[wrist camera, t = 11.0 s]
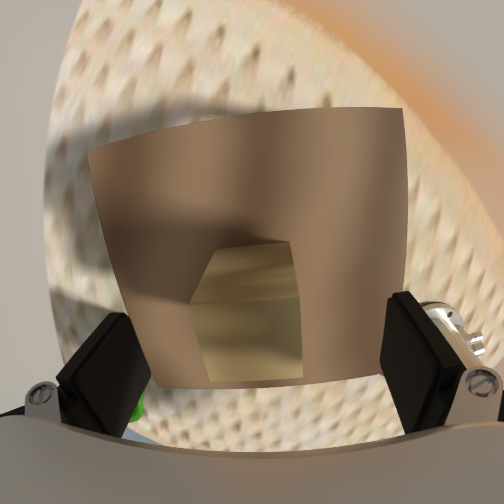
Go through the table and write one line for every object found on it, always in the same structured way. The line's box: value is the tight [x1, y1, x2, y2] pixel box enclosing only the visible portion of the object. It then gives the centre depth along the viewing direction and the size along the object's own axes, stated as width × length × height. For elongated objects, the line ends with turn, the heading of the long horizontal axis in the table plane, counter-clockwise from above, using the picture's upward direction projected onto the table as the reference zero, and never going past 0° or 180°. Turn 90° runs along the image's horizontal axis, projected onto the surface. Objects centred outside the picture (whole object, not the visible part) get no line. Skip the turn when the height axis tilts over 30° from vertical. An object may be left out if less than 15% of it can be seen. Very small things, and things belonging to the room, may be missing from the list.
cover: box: [87, 107, 408, 389], centre depth 18 cm, size 15×15×19 cm
